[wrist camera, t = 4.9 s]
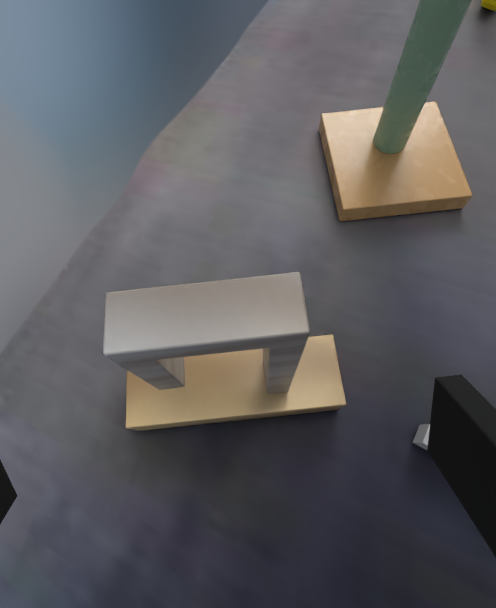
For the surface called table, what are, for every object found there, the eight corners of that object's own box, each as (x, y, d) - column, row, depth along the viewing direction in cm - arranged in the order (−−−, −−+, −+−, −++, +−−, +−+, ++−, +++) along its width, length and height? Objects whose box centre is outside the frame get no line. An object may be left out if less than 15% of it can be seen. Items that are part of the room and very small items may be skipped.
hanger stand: (498, 304, 25) (910, 37, 9) (360, 319, 25) (528, 79, 9) (428, 116, 31) (599, -237, 15) (318, 128, 31) (374, -213, 15)
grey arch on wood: (338, 409, 23) (425, 355, 10) (139, 431, 23) (-8, 402, 10) (326, 345, 24) (390, 232, 12) (139, 365, 24) (11, 273, 12)
